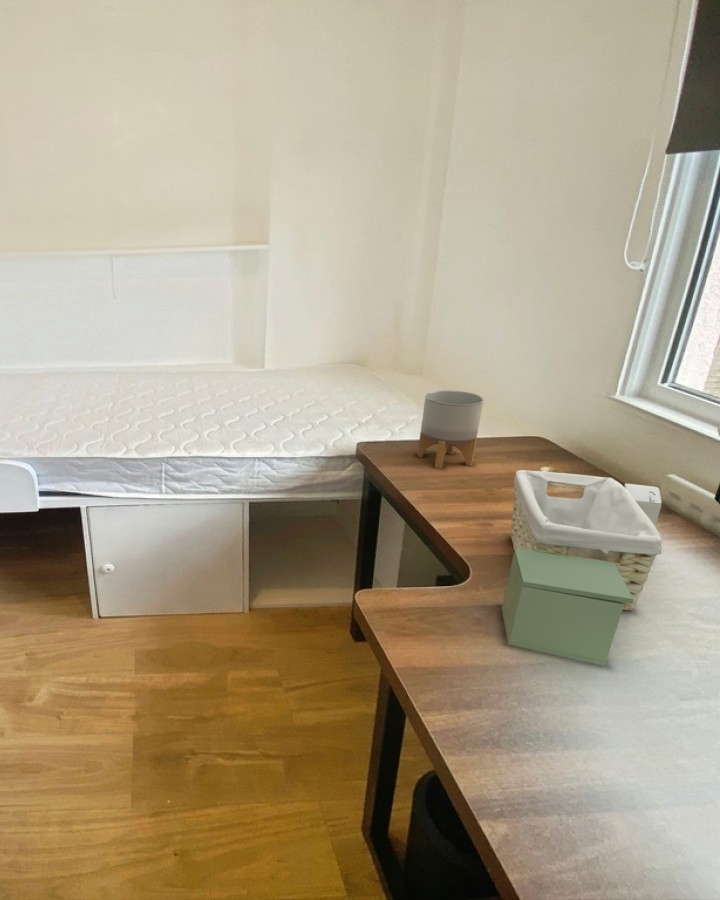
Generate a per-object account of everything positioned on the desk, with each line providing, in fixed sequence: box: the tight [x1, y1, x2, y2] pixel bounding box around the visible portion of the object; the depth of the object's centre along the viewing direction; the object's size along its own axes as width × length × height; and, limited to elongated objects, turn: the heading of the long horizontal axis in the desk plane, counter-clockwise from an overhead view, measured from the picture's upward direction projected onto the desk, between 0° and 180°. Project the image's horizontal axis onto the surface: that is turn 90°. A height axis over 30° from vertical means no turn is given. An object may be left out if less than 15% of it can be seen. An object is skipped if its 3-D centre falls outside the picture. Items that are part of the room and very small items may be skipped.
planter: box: [416, 390, 484, 470], centre depth 146 cm, size 13×13×18 cm
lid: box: [513, 549, 634, 604], centre depth 82 cm, size 12×10×1 cm
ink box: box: [623, 483, 663, 527], centre depth 104 cm, size 8×5×12 cm, turn 141°
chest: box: [501, 553, 624, 667], centre depth 84 cm, size 12×10×11 cm
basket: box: [510, 469, 663, 611], centre depth 98 cm, size 24×16×15 cm
